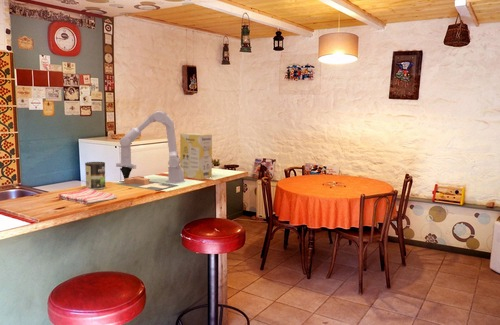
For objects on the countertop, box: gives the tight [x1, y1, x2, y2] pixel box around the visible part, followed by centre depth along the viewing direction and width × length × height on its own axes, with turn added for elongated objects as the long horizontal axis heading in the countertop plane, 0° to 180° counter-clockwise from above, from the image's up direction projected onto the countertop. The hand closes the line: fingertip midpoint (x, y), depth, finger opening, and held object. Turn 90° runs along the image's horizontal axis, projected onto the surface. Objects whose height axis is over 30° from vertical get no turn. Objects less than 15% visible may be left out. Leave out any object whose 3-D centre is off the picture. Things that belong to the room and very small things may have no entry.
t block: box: [123, 175, 150, 185], centre depth 242 cm, size 12×12×3 cm
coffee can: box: [84, 161, 106, 191], centre depth 228 cm, size 10×10×14 cm
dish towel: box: [58, 187, 117, 205], centre depth 204 cm, size 17×23×4 cm
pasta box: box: [179, 132, 213, 180], centre depth 270 cm, size 18×10×28 cm, turn 53°
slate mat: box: [117, 180, 179, 192], centre depth 240 cm, size 18×31×1 cm, turn 60°
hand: (126, 179), depth 247 cm, fingers closed
